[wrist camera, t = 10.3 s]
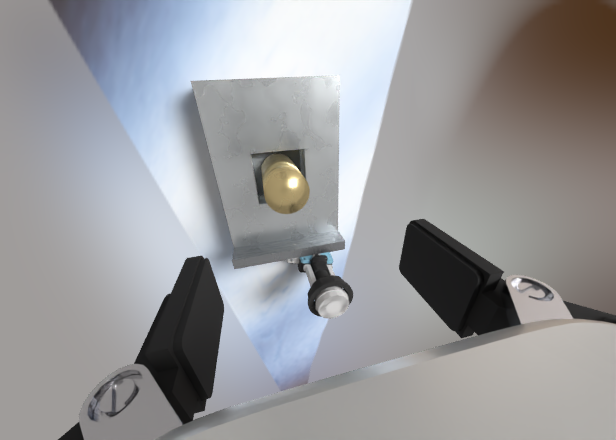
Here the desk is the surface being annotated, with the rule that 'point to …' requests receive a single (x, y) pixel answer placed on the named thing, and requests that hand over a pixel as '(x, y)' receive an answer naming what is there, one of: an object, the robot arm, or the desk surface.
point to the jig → (270, 138)
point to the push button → (324, 286)
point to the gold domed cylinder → (283, 184)
